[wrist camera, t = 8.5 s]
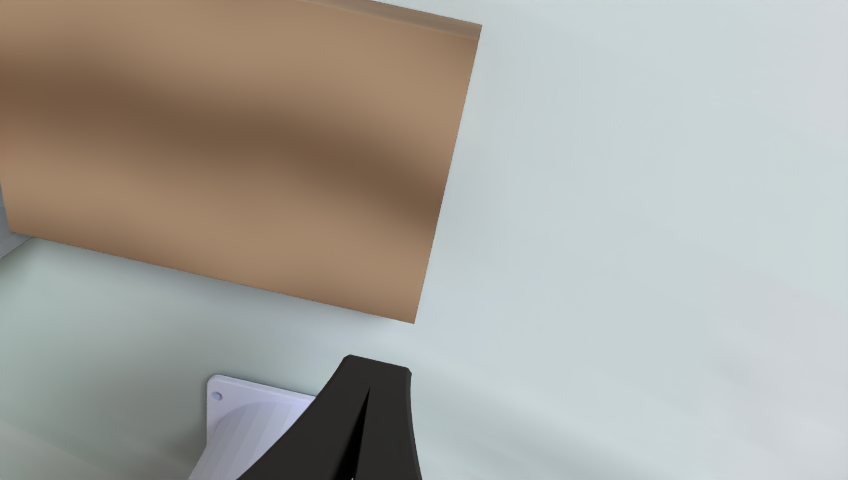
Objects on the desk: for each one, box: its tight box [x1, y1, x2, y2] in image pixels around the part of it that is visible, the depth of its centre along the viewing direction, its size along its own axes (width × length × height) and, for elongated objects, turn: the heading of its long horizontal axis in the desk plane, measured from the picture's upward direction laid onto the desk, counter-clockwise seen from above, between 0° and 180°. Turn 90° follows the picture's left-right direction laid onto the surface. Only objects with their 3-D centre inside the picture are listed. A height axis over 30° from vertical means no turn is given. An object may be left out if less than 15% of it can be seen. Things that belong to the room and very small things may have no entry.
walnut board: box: [0, 0, 482, 324], centre depth 20 cm, size 10×15×2 cm, turn 79°
